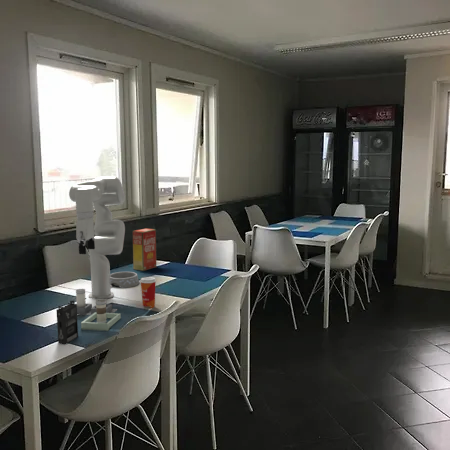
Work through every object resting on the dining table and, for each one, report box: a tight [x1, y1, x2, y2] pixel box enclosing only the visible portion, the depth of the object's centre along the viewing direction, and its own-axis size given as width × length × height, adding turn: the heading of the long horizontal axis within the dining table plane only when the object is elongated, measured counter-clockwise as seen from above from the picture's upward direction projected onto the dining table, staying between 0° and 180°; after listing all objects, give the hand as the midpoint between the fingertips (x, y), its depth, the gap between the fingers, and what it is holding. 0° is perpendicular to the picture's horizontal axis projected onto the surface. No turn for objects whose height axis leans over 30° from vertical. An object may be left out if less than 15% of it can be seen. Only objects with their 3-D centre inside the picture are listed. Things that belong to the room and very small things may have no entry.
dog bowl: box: [110, 271, 141, 289], centre depth 287 cm, size 17×18×5 cm
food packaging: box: [132, 227, 157, 272], centre depth 324 cm, size 13×9×25 cm
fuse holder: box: [77, 303, 118, 316], centre depth 234 cm, size 10×22×4 cm, turn 80°
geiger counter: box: [56, 300, 79, 346], centre depth 200 cm, size 10×4×15 cm, turn 163°
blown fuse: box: [95, 299, 108, 323], centre depth 218 cm, size 4×4×10 cm
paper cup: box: [139, 276, 157, 309], centre depth 243 cm, size 8×8×14 cm
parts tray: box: [80, 312, 122, 332], centre depth 218 cm, size 14×12×3 cm
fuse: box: [75, 288, 87, 308], centre depth 234 cm, size 4×4×10 cm
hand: (87, 251), depth 234 cm, fingers open, 9 cm apart
